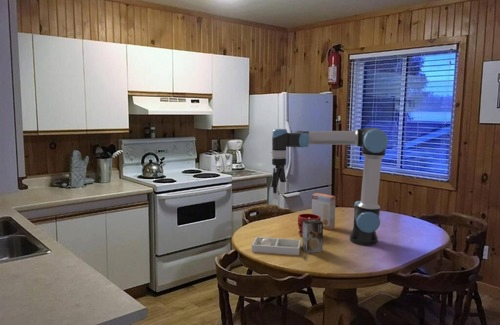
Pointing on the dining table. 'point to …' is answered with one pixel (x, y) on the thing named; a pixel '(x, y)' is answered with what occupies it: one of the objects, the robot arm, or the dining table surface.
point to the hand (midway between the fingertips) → (278, 196)
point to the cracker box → (324, 209)
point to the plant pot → (305, 217)
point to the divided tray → (277, 246)
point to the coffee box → (312, 236)
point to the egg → (265, 242)
